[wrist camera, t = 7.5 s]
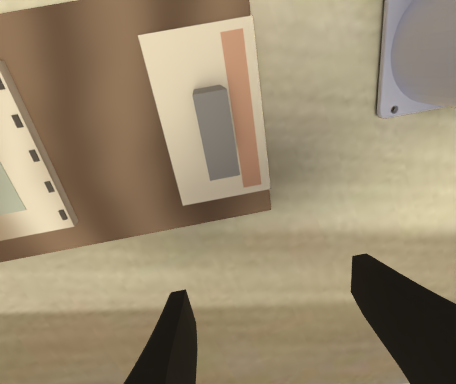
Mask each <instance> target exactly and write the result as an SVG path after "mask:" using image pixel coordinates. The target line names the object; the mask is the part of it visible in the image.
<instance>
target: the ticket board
mask: <svg viewBox="0 0 456 384" xmlns="http://www.w3.org/2000/svg"><path fill="white" fill-rule="evenodd" d="M246 16H251V15H250V6H249V0H78V1H72V2H66V3H60V4H54V5H48V6H43V7H37V8H31V9H25V10H19V11H13V12H7V13H2V14H0V262H4V261H9V260H14V259H19V258H25V257H30V256H35V255H40V254H45V253H50V252H56V251H61V250H66V249H71V248H76V247H81V246H87V245H92V244H97V243H102V242H107V241H112V240H118V239H123V238H128V237H133V236H138V235H143V234H149V233H154V232H159V231H164V230H169V229H174V228H179V227H185V226H190V225H195V224H200V223H205V222H210V221H216V220H221V219H226V218H231V217H236V216H241V215H247V214H252V213H257V212H262V211H267V210H271V203H270V193H269V189H268V190H263V191H257V192H252V193H247V194H242V195H237V196H231V197H226V198H221V199H216V200H211V201H205V202H200V203H195V204H190V205H184V206H183V204H182V200H181V197H180V193H179V189H178V185H177V182H176V178H175V174H174V170H173V166H172V163H171V159H170V155H169V151H168V148H167V144H166V140H165V136H164V132H163V129H162V125H161V121H160V117H159V114H158V110H157V106H156V102H155V98H154V95H153V91H152V87H151V83H150V80H149V76H148V72H147V68H146V64H145V61H144V57H143V53H142V49H141V46H140V42H139V38H138V35H143V34H148V33H154V32H160V31H166V30H171V29H177V28H183V27H188V26H194V25H200V24H206V23H211V22H217V21H223V20H229V19H234V18H240V17H246Z"/></svg>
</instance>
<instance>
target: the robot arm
mask: <svg viewBox="0 0 456 384" xmlns="http://www.w3.org/2000/svg"><path fill="white" fill-rule="evenodd" d="M393 106H394V111H393V112H391V108H392V107H393ZM445 107H452V108H456V0H385V5H384V19H383V33H382V47H381V61H380V75H379V89H378V103H377V115H378V116H379V117H380V118H391V117H396V116H402V115H407V114H412V113H418V112H423V111H428V110H434V109H439V108H445ZM351 293H352V295H353V297H354V299H355V301H356V303H357V305H358V306H359V308H360V310H361V312H362V314H363V315H364V317H365V318H366V320H367V321H368V323H369V324H370V325H371V327H372V328H373V330H374V331H375V333H376V334H377V336H378V337H379V338H380V340H381V341H382V343H383V344H384V345H385V347H386V348H387V350H388V351H389V353H390V354H391V355H392V357H393V358H394V360H395V361H396V363H397V364H398V365H399V367H400V368H401V370H402V371H403V373H404V374H405V376H406V378H407V379H408V381H409V382H410V384H456V304H455V303H453V302H451V301H449V300H447V299H445V298H443V297H441V296H439V295H437V294H436V293H434V292H432V291H430V290H428V289H426V288H424V287H423V286H421V285H419V284H417V283H416V282H414V281H412V280H410V279H409V278H407V277H405V276H403V275H402V274H400V273H398V272H397V271H395V270H393V269H392V268H390V267H388V266H387V265H385V264H383V263H382V262H380V261H378V260H377V259H375V258H373V257H372V256H370V255H368V254H361V255H356V256H352V278H351ZM196 366H197V330H196V321H195V318H194V315H193V311H192V308H191V305H190V302H189V298H188V295H187V292H186V290H181V291H176V292H171V294H170V295H169V298H168V300H167V302H166V305H165V307H164V309H163V312H162V314H161V316H160V318H159V320H158V322H157V325H156V327H155V329H154V331H153V333H152V335H151V337H150V339H149V341H148V342H147V344H146V346H145V348H144V350H143V352H142V353H141V355H140V357H139V359H138V361H137V362H136V364H135V366H134V368H133V369H132V371H131V373H130V374H129V376H128V377H127V379H126V381H125V382H124V384H196Z"/></svg>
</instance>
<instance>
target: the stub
mask: <svg viewBox="0 0 456 384" xmlns="http://www.w3.org/2000/svg"><path fill="white" fill-rule="evenodd" d="M138 38H139V42H140V46H141V49H142V53H143V57H144V61H145V64H146V68H147V72H148V76H149V80H150V83H151V87H152V91H153V95H154V98H155V102H156V106H157V110H158V114H159V117H160V121H161V125H162V129H163V132H164V136H165V140H166V144H167V148H168V151H169V155H170V159H171V163H172V166H173V170H174V174H175V178H176V182H177V185H178V189H179V193H180V197H181V200H182V204H183V206H184V205H190V204H195V203H200V202H205V201H211V200H216V199H221V198H226V197H231V196H237V195H242V194H247V193H252V192H257V191H263V190H268V189H271V186H270V177H269V167H268V157H267V148H266V138H265V128H264V119H263V109H262V99H261V90H260V80H259V71H258V61H257V51H256V42H255V32H254V22H253V15H251V16H246V17H240V18H234V19H229V20H223V21H217V22H211V23H206V24H200V25H194V26H188V27H183V28H177V29H171V30H166V31H160V32H154V33H148V34H143V35H138Z"/></svg>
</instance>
